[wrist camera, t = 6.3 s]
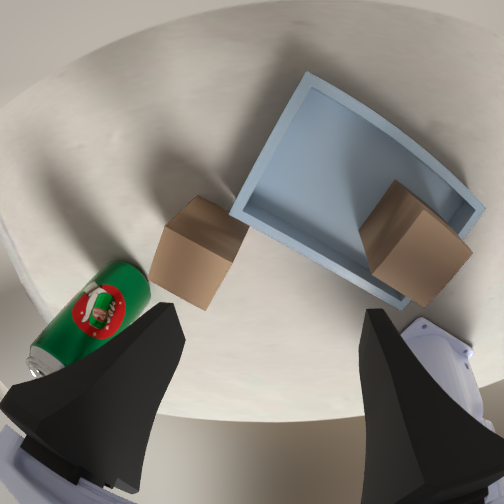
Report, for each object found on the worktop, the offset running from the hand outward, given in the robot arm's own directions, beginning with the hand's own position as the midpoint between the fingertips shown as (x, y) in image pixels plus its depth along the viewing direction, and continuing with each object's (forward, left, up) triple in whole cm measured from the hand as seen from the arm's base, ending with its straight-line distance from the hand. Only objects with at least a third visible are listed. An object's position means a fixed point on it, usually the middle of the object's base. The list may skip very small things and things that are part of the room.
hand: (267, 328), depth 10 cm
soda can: (+9, +12, -10) cm, 18 cm away
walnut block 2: (-6, -4, -9) cm, 12 cm away
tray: (-3, -4, -10) cm, 11 cm away
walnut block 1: (+4, +3, -10) cm, 11 cm away
